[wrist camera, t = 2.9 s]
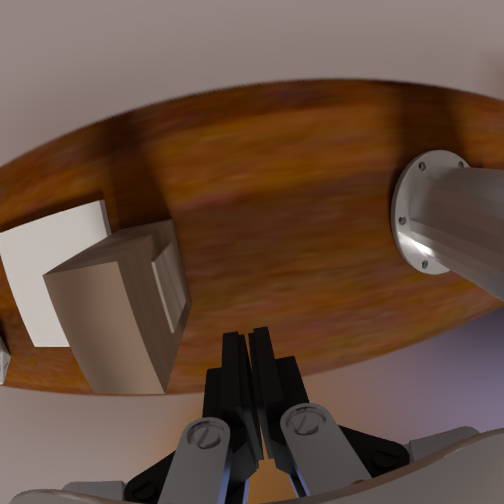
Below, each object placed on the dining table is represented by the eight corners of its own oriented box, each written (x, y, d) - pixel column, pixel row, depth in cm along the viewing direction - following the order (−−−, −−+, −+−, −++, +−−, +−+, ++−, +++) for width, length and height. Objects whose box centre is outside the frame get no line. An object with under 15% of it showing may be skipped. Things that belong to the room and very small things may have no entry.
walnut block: (174, 218, 24) (120, 260, 12) (194, 303, 26) (168, 393, 14) (120, 229, 24) (42, 275, 12) (143, 310, 26) (94, 393, 14)
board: (104, 199, 23) (99, 200, 22) (143, 337, 27) (140, 343, 26) (1, 232, 23) (-5, 234, 22) (38, 342, 27) (34, 346, 26)
